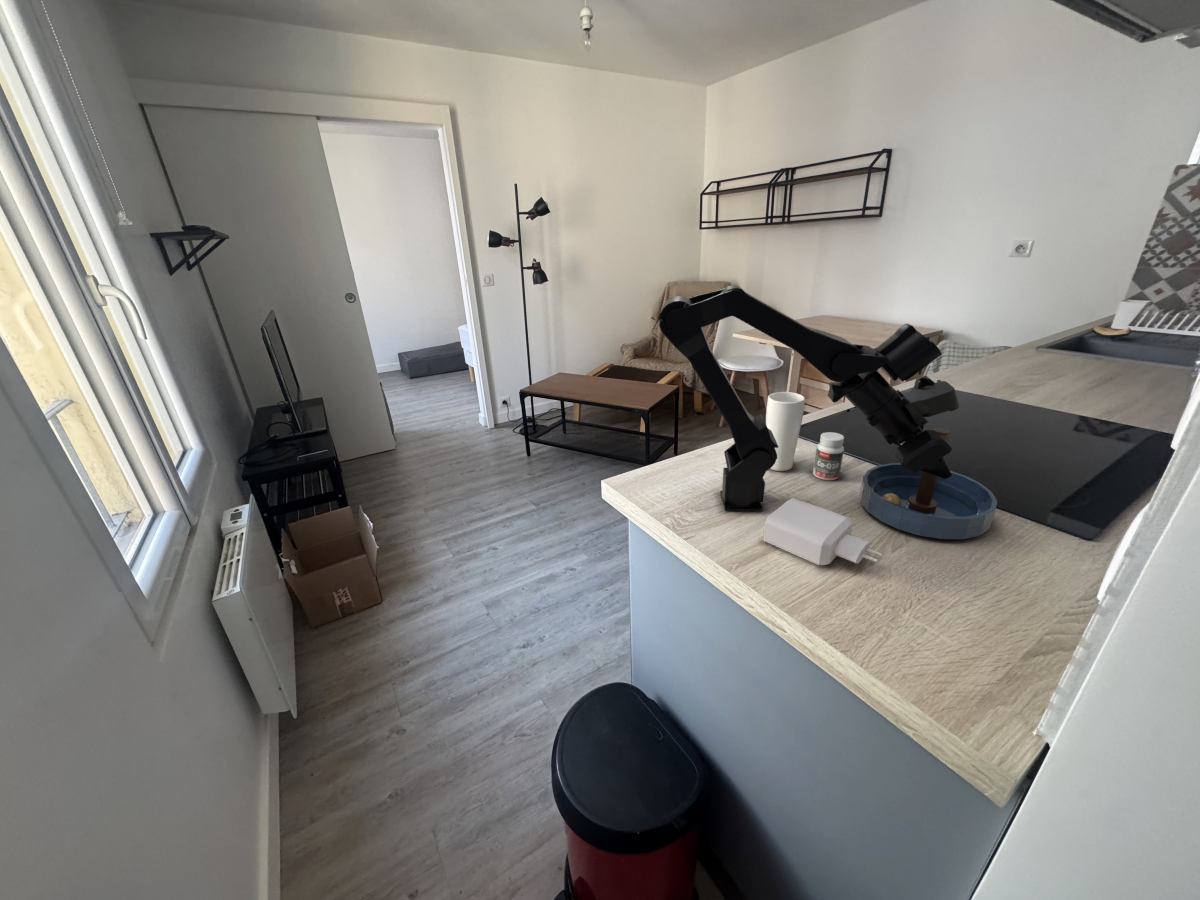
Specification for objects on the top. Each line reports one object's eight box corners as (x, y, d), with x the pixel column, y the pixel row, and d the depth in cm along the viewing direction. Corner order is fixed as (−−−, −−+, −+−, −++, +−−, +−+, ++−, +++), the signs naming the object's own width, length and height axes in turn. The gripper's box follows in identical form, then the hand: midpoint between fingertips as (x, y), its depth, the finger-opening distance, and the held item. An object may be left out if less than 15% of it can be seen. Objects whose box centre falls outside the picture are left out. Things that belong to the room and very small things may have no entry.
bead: (873, 498, 78) (889, 487, 77) (879, 502, 80) (895, 491, 79) (885, 513, 76) (901, 502, 75) (891, 516, 78) (907, 505, 77)
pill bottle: (812, 479, 91) (818, 439, 87) (812, 468, 94) (818, 430, 91) (839, 482, 89) (846, 442, 85) (838, 471, 93) (845, 432, 89)
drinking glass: (799, 474, 93) (808, 403, 86) (763, 473, 94) (769, 402, 88) (793, 459, 98) (801, 391, 92) (759, 458, 100) (765, 391, 94)
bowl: (887, 543, 72) (893, 518, 70) (843, 484, 88) (847, 463, 86) (1017, 544, 69) (1027, 518, 68) (947, 484, 86) (953, 462, 84)
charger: (863, 589, 63) (762, 543, 73) (888, 557, 69) (791, 519, 79) (870, 560, 61) (765, 518, 71) (895, 530, 67) (794, 495, 77)
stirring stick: (927, 516, 76) (949, 437, 70) (902, 505, 79) (921, 429, 73) (940, 508, 78) (962, 430, 72) (915, 498, 81) (934, 423, 75)
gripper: (951, 384, 61) (1026, 465, 63) (908, 350, 77) (969, 415, 79) (873, 436, 67) (943, 509, 68) (848, 394, 83) (906, 454, 84)
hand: (941, 468), depth 75 cm, fingers open, 5 cm apart
